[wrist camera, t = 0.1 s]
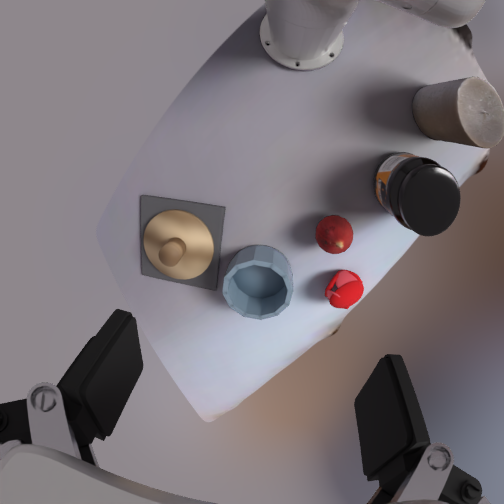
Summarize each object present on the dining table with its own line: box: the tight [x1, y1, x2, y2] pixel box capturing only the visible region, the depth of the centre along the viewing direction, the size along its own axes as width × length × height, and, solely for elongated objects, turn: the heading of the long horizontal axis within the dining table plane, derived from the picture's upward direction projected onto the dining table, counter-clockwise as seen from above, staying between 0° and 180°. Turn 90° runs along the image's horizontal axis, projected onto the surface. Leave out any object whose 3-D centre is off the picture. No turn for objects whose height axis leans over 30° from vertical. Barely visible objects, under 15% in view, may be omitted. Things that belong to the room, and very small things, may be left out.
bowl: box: [222, 245, 293, 320], centre depth 47 cm, size 11×11×6 cm
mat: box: [141, 195, 225, 291], centre depth 49 cm, size 16×15×1 cm
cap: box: [325, 270, 364, 309], centre depth 47 cm, size 8×6×6 cm
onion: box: [316, 215, 353, 254], centre depth 41 cm, size 6×6×8 cm
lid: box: [144, 209, 214, 279], centre depth 46 cm, size 13×13×5 cm
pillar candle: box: [412, 77, 504, 148], centre depth 28 cm, size 10×10×15 cm
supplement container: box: [374, 152, 460, 236], centre depth 35 cm, size 10×10×12 cm
